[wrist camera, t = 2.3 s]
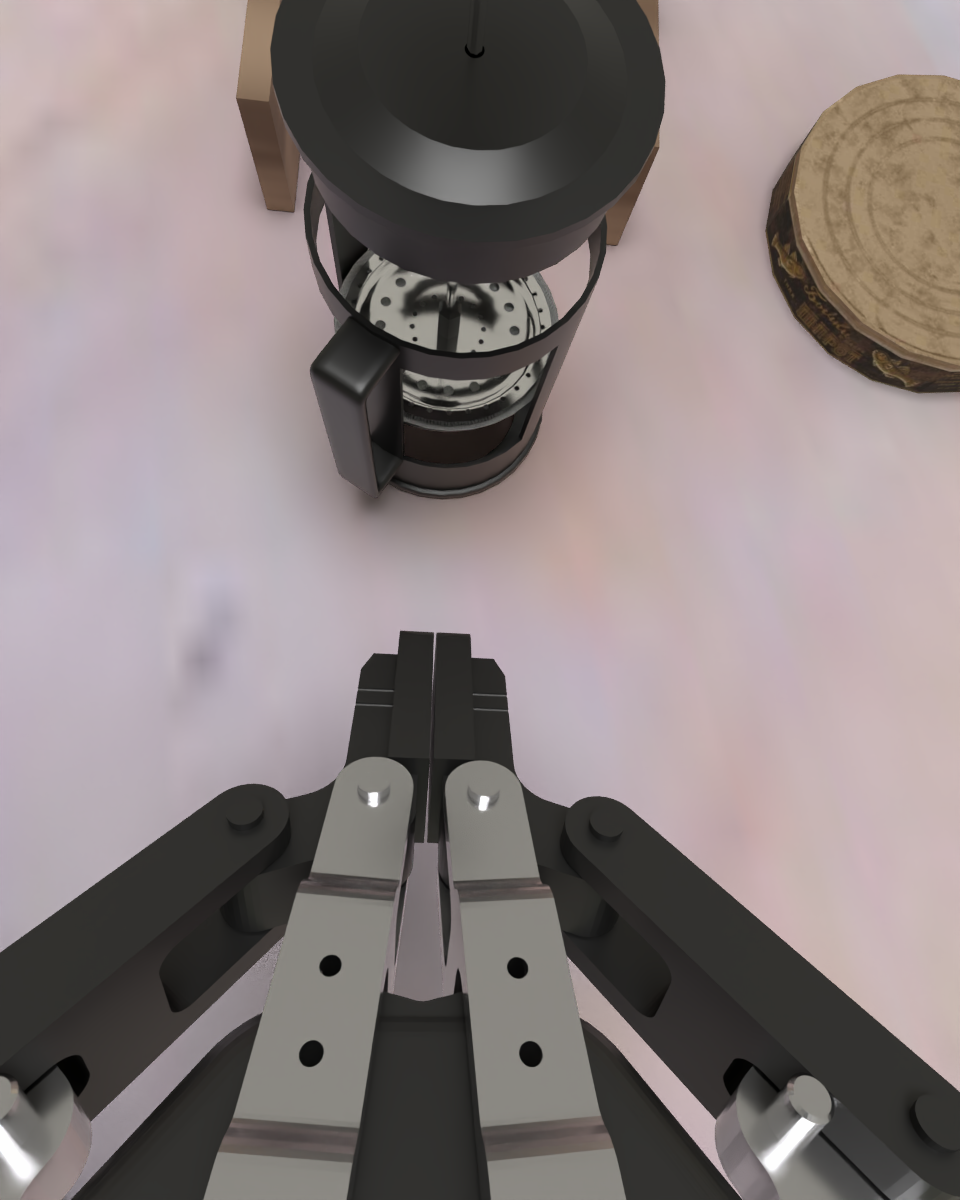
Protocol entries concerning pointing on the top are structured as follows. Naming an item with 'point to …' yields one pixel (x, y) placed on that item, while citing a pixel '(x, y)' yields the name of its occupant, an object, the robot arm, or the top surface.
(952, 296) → the wood slice
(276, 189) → the docking bay
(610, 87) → the french press
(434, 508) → the top surface
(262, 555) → the top surface
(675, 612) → the top surface
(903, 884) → the top surface
